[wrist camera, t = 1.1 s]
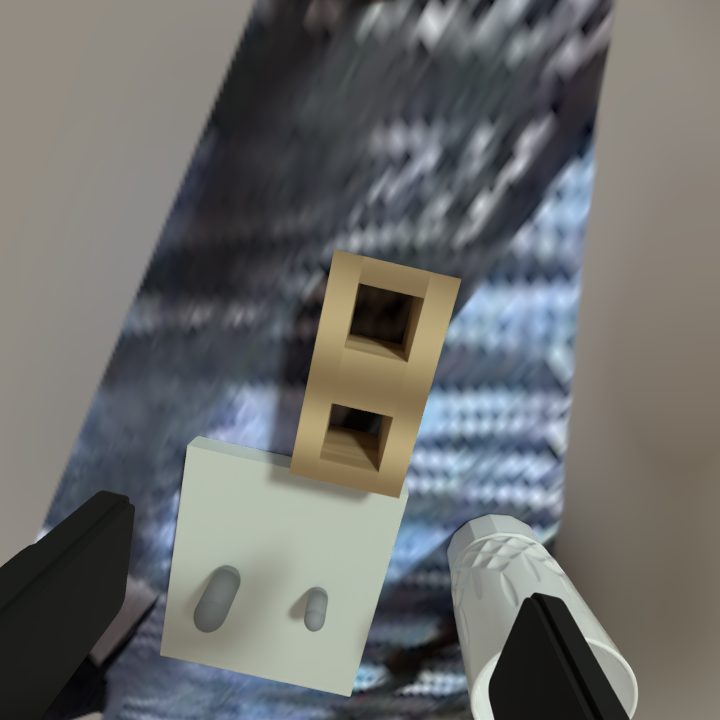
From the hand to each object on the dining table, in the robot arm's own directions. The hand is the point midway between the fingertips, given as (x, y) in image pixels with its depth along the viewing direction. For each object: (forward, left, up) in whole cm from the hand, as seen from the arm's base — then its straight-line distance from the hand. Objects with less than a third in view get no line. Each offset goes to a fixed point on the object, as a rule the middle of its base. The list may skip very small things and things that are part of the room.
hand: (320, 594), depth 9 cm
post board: (+15, -2, -17) cm, 23 cm away
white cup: (+10, +13, -17) cm, 24 cm away
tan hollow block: (-2, +1, -17) cm, 17 cm away
